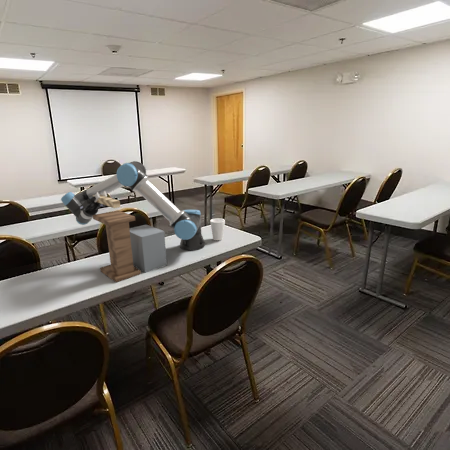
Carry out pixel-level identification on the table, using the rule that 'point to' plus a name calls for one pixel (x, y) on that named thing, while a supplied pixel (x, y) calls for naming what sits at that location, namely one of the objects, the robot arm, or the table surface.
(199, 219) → the robot arm
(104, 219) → the walnut stand
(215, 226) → the foam cup
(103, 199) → the notched tan bar
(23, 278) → the table surface
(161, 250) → the grey block
